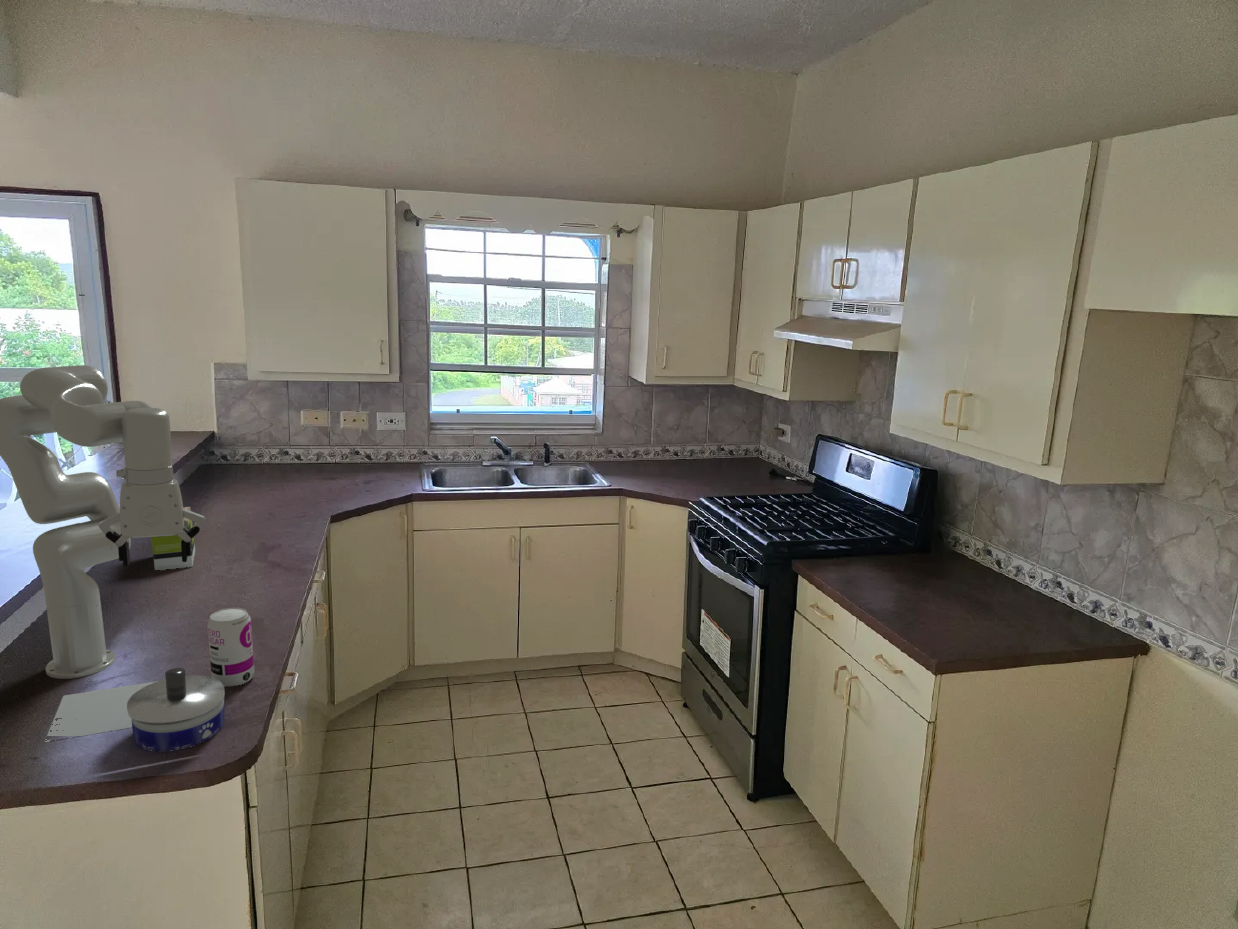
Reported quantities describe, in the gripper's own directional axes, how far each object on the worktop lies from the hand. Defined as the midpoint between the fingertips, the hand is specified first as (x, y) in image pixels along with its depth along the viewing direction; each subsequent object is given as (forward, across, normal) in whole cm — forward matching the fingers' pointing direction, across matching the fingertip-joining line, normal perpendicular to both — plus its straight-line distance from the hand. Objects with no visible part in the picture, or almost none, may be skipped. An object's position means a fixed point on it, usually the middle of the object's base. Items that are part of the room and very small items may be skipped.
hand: (156, 561), depth 151 cm
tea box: (+34, -6, +91) cm, 98 cm away
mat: (+31, -10, +2) cm, 33 cm away
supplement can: (+31, +12, +8) cm, 34 cm away
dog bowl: (+30, +3, -10) cm, 32 cm away
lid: (+24, +3, -10) cm, 26 cm away
